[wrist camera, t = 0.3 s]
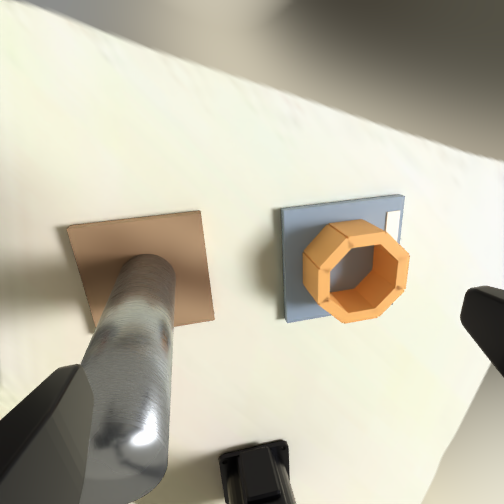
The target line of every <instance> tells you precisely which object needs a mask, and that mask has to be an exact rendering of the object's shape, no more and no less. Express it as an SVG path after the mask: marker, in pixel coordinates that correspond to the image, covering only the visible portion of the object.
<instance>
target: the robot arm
mask: <svg viewBox="0 0 504 504" xmlns="http://www.w3.org/2000/svg"><path fill="white" fill-rule="evenodd" d="M460 320H461V323H462V325H463V326H464V328H465V329H466V330H467V332H468V333H469V334H470V335H471V337H472V338H473V339H474V341H475V342H476V343H477V344H478V346H479V347H480V348H481V349H482V351H483V352H484V353H485V355H486V356H487V357H488V358H489V360H490V361H491V362H492V364H493V365H494V366H495V367H496V369H497V370H498V371H499V372H500V373H501V375H502V376H503V377H504V290H502V289H498V288H494V287H490V286H479V287H474V288H470V289H468V290H467V292H466V294H465V297H464V301H463V306H462V310H461V314H460ZM93 408H94V394H93V391H92V388H91V386H90V383H89V380H88V378H87V375H86V373H85V370H84V368H83V367H82V366H81V365H79V364H75V365H70V366H64V367H60V368H58V369H57V370H55V371H54V372H53V373H52V374H51V375H50V376H49V377H48V378H46V379H45V380H44V381H43V382H42V383H41V384H40V385H39V386H38V387H37V388H35V389H34V390H33V391H32V392H31V393H30V394H29V395H28V396H27V397H26V398H24V399H23V400H22V401H21V402H20V403H19V404H18V405H17V406H16V407H14V408H13V409H12V410H11V411H10V412H9V413H8V414H7V415H6V416H5V417H3V418H2V419H1V420H0V504H79V503H80V498H81V494H82V489H83V484H84V479H85V472H86V465H87V457H88V449H89V441H90V432H91V424H92V416H93ZM219 464H220V471H221V477H222V484H223V490H224V497H225V502H226V504H296V501H295V498H294V495H293V491H292V488H291V484H290V477H289V449H288V444H287V442H286V441H279V442H275V443H270V444H266V445H262V446H257V447H253V448H249V449H244V450H240V451H236V452H231V453H227V454H223V455H221V456H220V457H219Z"/></svg>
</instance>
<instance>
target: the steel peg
mask: <svg viewBox="0 0 504 504" xmlns="http://www.w3.org/2000/svg"><path fill="white" fill-rule="evenodd" d="M175 286H176V275H175V271H174V269H173V267H172V266H171V264H170V263H169V262H168V261H167V260H165V259H164V258H162V257H160V256H157V255H154V254H140V255H137V256H134V257H132V258H130V259H129V260H128V261H126V262H125V264H124V265H123V266H122V268H121V270H120V273H119V275H118V277H117V280H116V282H115V284H114V287H113V289H112V291H111V294H110V296H109V298H108V301H107V303H106V306H105V308H104V310H103V313H102V315H101V317H100V320H99V322H98V324H97V327H96V329H95V331H94V334H93V336H92V338H91V341H90V343H89V346H88V348H87V350H86V353H85V355H84V357H83V360H82V362H81V364H80V365H81V366H82V367H83V368H84V370H85V373H86V375H87V378H88V380H89V383H90V386H91V388H92V391H93V394H94V408H93V416H92V424H91V432H90V441H89V449H88V457H87V465H86V472H85V479H84V484H83V489H82V494H81V498H80V503H79V504H128V503H131V502H133V501H135V500H137V499H139V498H141V497H143V496H145V495H146V494H148V493H149V492H150V491H152V490H153V489H154V488H155V487H156V486H157V485H158V484H159V482H160V481H161V480H162V478H163V476H164V474H165V472H166V469H167V464H168V442H169V420H170V397H171V375H172V353H173V331H174V308H175Z"/></svg>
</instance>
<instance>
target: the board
mask: <svg viewBox="0 0 504 504" xmlns="http://www.w3.org/2000/svg"><path fill="white" fill-rule="evenodd" d="M67 232H68V236H69V239H70V242H71V246H72V249H73V253H74V256H75V259H76V263H77V266H78V269H79V273H80V276H81V279H82V283H83V286H84V290H85V293H86V296H87V300H88V303H89V306H90V310H91V313H92V317H93V320H94V323H95V327H97V324H98V322H99V320H100V317H101V315H102V313H103V310H104V308H105V306H106V303H107V301H108V298H109V296H110V294H111V291H112V289H113V287H114V284H115V282H116V280H117V277H118V275H119V273H120V270H121V268H122V266H123V265H124V264H125V262H126V261H128V260H129V259H130V258H132V257H134V256H137V255H140V254H154V255H157V256H160V257H162V258H164V259H165V260H167V261H168V262H169V263H170V264H171V266H172V267H173V269H174V271H175V275H176V286H175V308H174V327H176V326H182V325H188V324H194V323H200V322H206V321H212V320H215V318H214V310H213V303H212V295H211V287H210V280H209V272H208V264H207V257H206V249H205V241H204V234H203V226H202V218H201V212H200V211H192V212H183V213H175V214H166V215H157V216H148V217H140V218H131V219H122V220H113V221H105V222H96V223H87V224H78V225H71V226H70V227H68V228H67Z"/></svg>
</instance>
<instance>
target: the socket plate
mask: <svg viewBox="0 0 504 504" xmlns="http://www.w3.org/2000/svg"><path fill="white" fill-rule="evenodd" d="M404 200H405V196H403V195H391V196H383V197H374V198H366V199H357V200H349V201H340V202H332V203H323V204H315V205H306V206H298V207H289V208H281V217H282V246H283V276H284V305H285V320H286V322H287V323H290V322H296V321H302V320H308V319H313V318H319V317H325V316H331V315H332V316H334V317H335V318H336V319H338V320H339V321H340V322H342V323H343V322H344V324H345V323H350V322H356V321H362V320H367V319H373V318H378V316H380V315H381V314H382V313H383V312H384V311H385V310H386V309H387V308H388V307H389V306H390V305H393V302H394V301H395V300H396V299H397V298H398V297H399V296H400V295H401V294H402V293H403V292H404V290H403V289H406V282H407V274H408V266H409V258H410V256H409V253H408V252H407V251H406V250H405V249H404V248H403V247H402V246H401V245H400V235H401V226H402V217H403V208H404Z"/></svg>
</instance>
